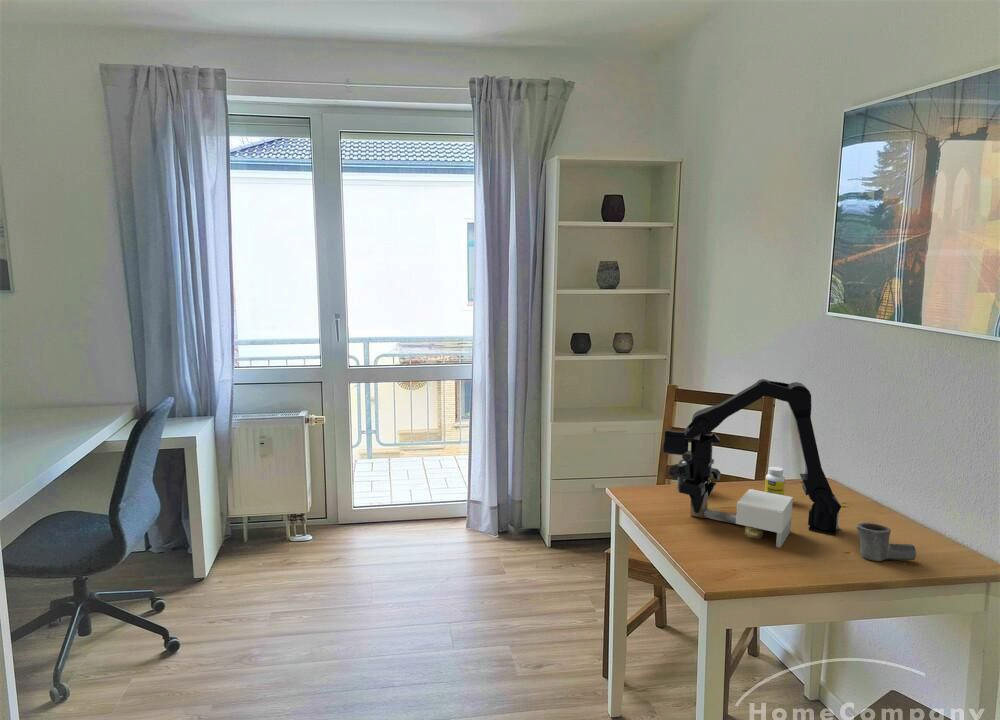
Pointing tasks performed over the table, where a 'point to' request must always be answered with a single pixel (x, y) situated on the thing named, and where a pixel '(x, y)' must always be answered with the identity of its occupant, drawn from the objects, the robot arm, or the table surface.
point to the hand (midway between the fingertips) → (699, 510)
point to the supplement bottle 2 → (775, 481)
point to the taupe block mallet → (713, 513)
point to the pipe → (882, 544)
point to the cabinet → (766, 513)
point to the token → (753, 532)
